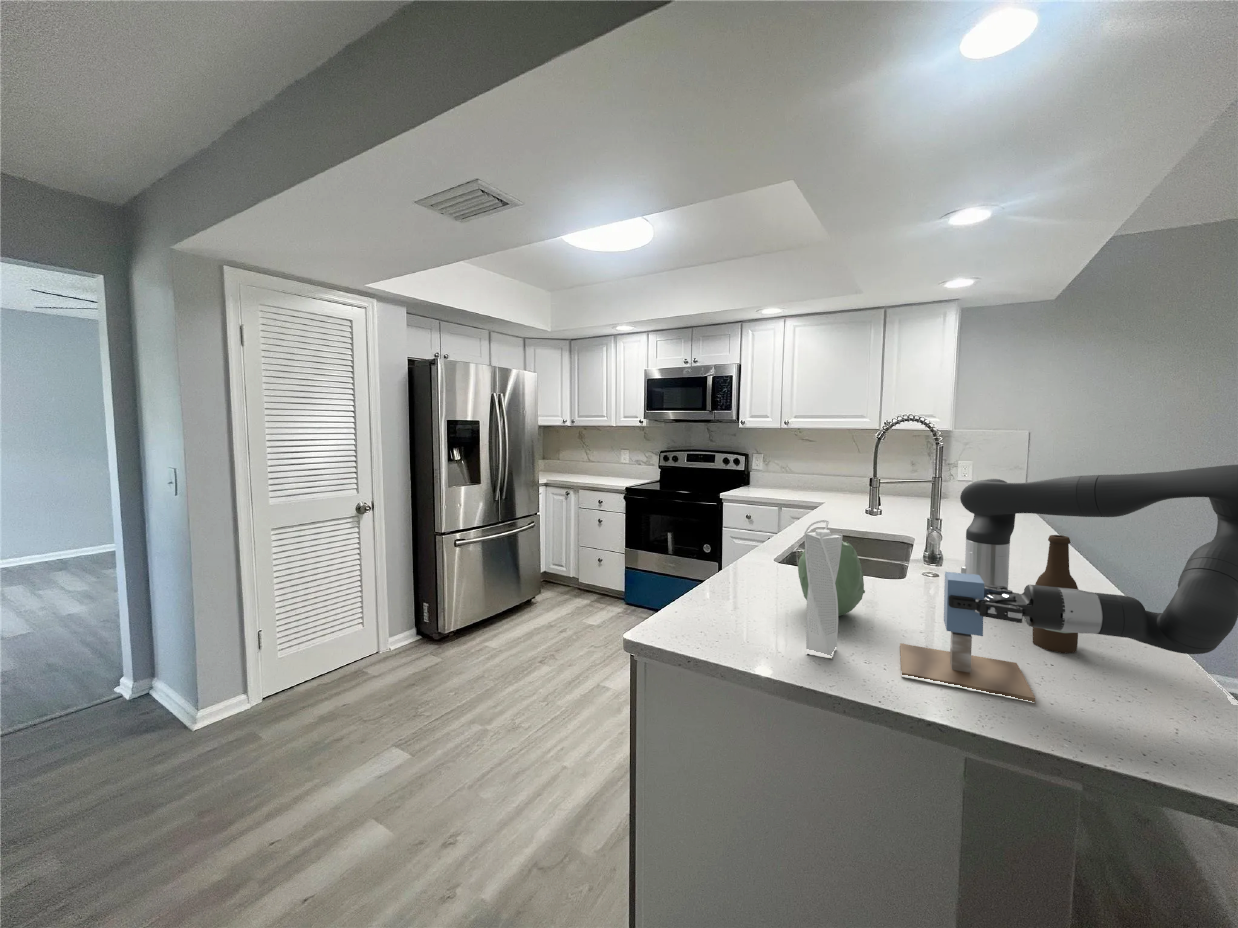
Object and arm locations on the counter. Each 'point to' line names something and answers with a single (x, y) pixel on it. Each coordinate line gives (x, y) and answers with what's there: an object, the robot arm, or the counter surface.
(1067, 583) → the beer bottle
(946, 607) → the pale blue tall block
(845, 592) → the cabbage
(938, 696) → the counter surface
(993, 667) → the post stand
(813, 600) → the skyscraper
